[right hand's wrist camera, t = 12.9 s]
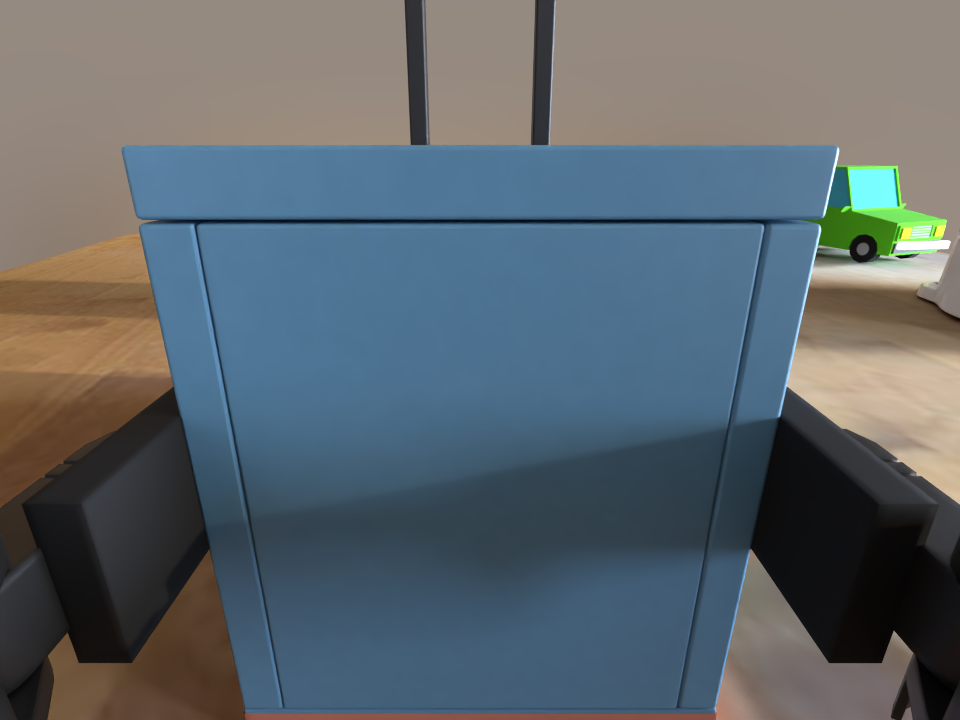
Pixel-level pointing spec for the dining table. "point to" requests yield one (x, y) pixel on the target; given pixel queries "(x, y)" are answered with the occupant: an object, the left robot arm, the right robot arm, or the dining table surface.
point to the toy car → (873, 215)
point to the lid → (480, 171)
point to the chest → (480, 454)
